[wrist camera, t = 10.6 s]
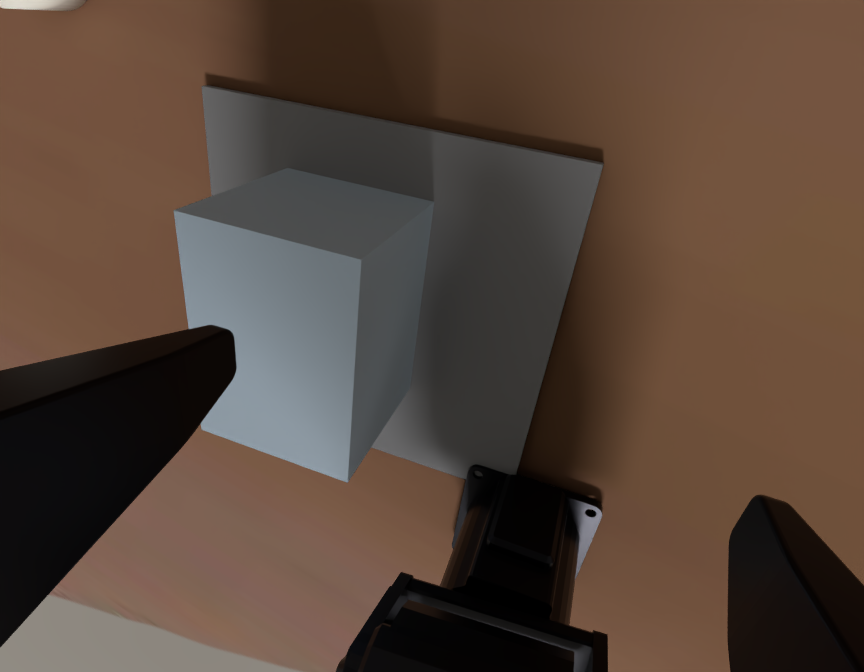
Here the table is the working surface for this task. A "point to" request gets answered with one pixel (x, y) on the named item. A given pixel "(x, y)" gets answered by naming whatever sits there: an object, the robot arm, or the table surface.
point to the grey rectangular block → (308, 310)
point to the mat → (441, 258)
